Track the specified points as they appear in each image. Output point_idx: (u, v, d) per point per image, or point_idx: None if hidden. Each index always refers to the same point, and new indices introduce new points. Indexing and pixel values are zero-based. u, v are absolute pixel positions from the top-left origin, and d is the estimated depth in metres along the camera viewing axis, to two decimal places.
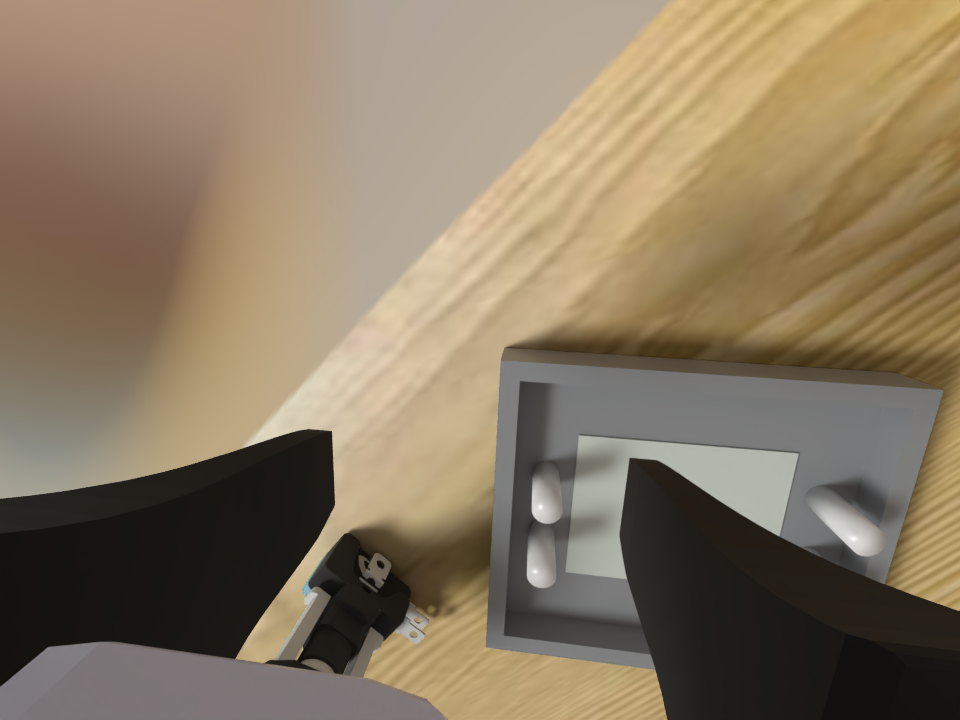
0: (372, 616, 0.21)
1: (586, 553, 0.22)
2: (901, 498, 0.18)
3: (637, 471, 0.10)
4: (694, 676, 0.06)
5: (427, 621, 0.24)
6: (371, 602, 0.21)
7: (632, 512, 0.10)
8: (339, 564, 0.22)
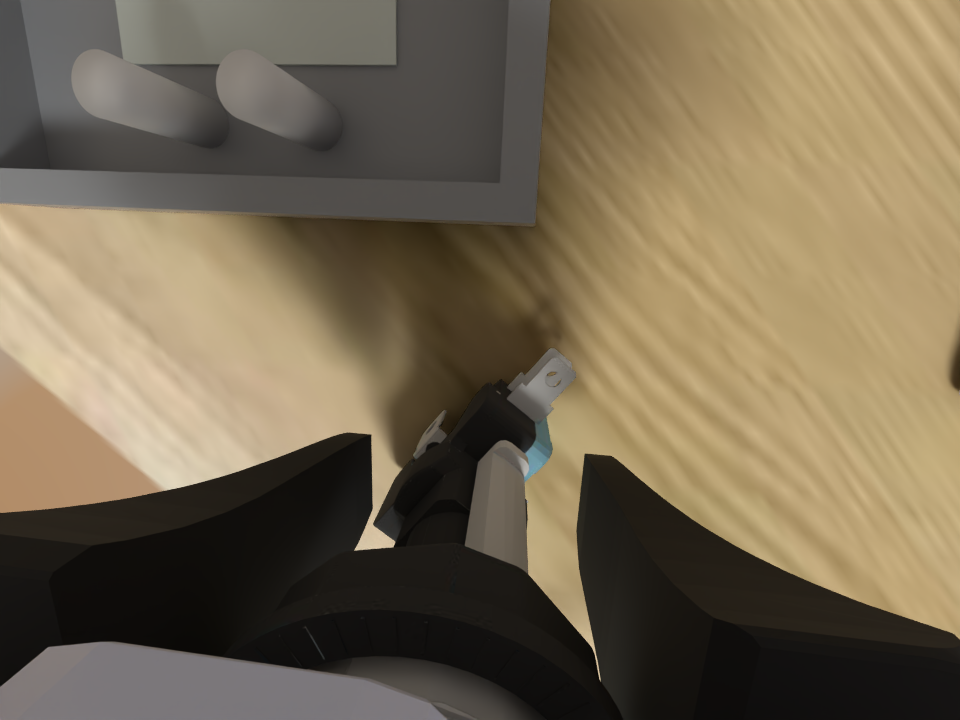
0: (435, 458, 0.10)
1: (349, 21, 0.11)
2: None
3: (589, 467, 0.10)
4: (622, 667, 0.07)
5: (552, 351, 0.12)
6: (425, 455, 0.11)
7: (585, 507, 0.10)
8: (390, 500, 0.12)
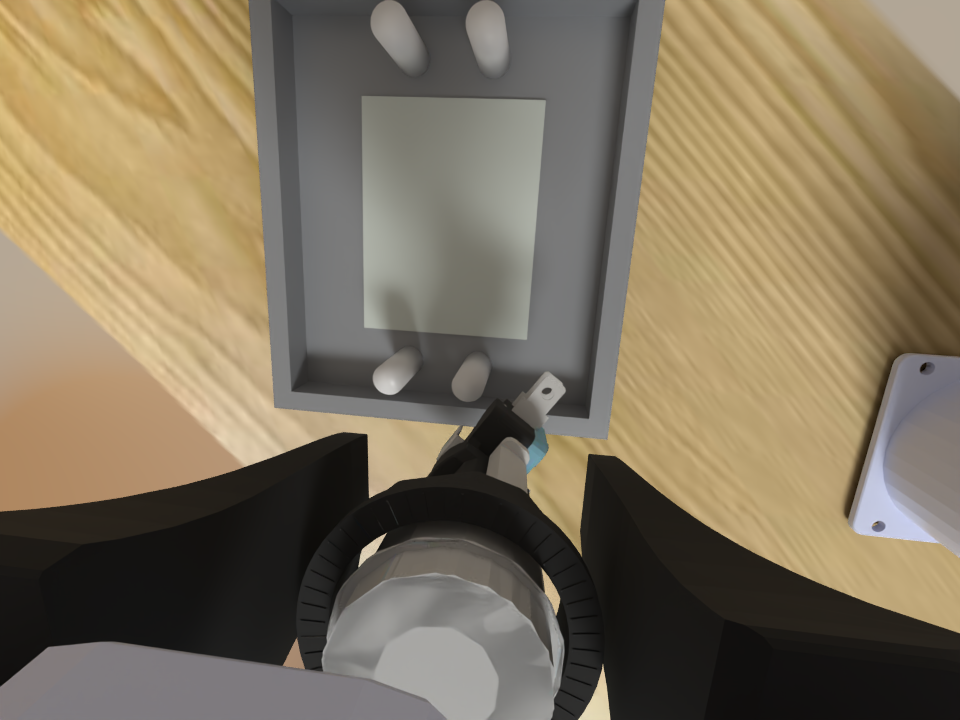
0: (456, 450, 0.13)
1: (501, 316, 0.19)
2: None
3: (593, 467, 0.10)
4: (628, 668, 0.07)
5: (546, 374, 0.16)
6: (448, 451, 0.14)
7: (589, 508, 0.10)
8: None
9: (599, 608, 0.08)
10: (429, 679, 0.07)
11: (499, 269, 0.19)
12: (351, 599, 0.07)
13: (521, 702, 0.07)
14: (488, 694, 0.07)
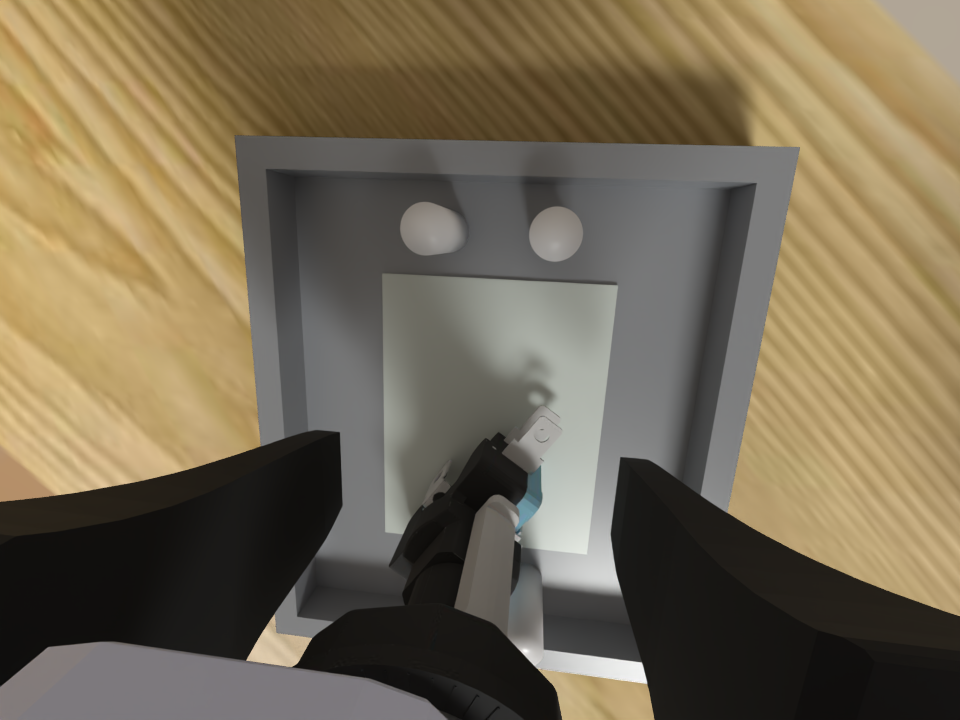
0: (437, 512, 0.12)
1: (555, 527, 0.16)
2: (397, 152, 0.12)
3: (627, 470, 0.10)
4: (680, 675, 0.07)
5: (542, 408, 0.14)
6: (430, 507, 0.13)
7: (622, 511, 0.10)
8: (402, 544, 0.14)
9: None
10: None
11: (554, 473, 0.15)
12: None
13: None
14: None
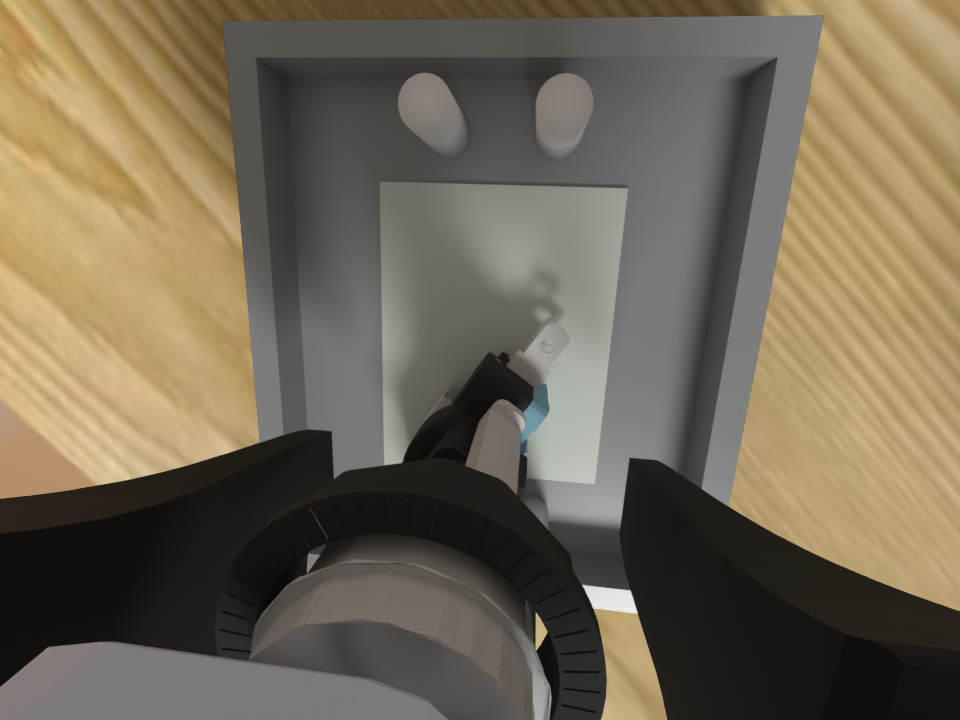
0: (438, 417, 0.11)
1: (562, 455, 0.15)
2: (394, 34, 0.11)
3: (637, 471, 0.10)
4: (694, 676, 0.06)
5: (548, 321, 0.13)
6: (431, 417, 0.12)
7: (632, 512, 0.10)
8: None
9: (598, 643, 0.06)
10: None
11: (560, 397, 0.14)
12: (260, 645, 0.05)
13: None
14: None
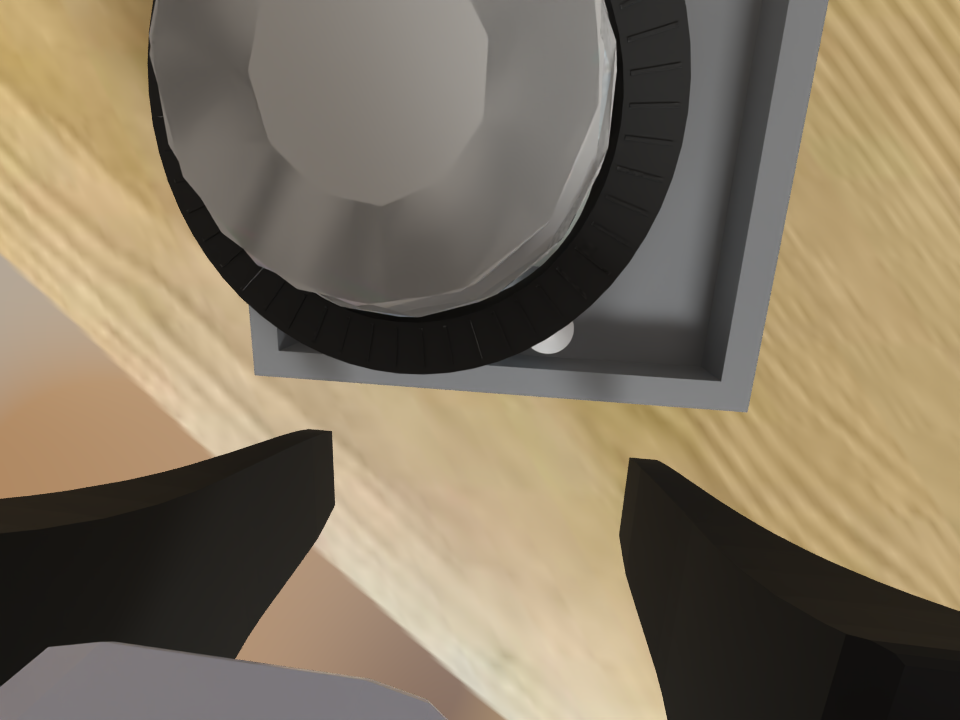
0: None
1: None
2: None
3: (637, 471, 0.10)
4: (695, 677, 0.06)
5: None
6: None
7: (632, 512, 0.10)
8: None
9: None
10: (352, 65, 0.04)
11: None
12: None
13: (535, 93, 0.03)
14: (469, 84, 0.03)
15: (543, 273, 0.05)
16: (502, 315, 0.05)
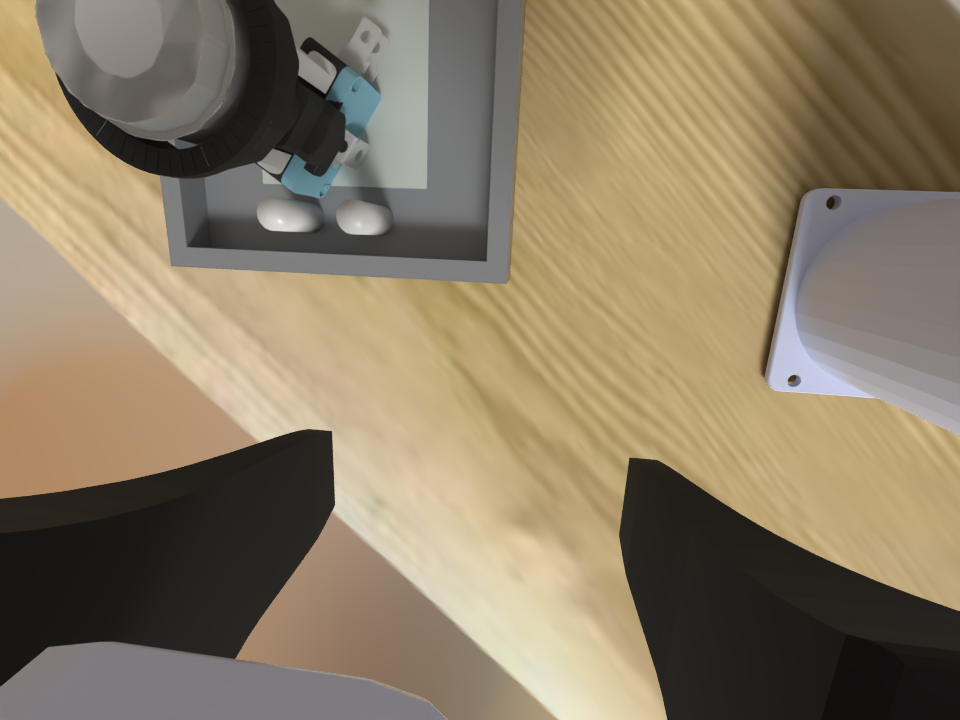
0: None
1: (399, 164, 0.19)
2: None
3: (637, 471, 0.10)
4: (695, 677, 0.06)
5: None
6: None
7: (632, 512, 0.10)
8: None
9: None
10: (112, 19, 0.09)
11: (395, 112, 0.18)
12: None
13: (181, 30, 0.09)
14: (156, 26, 0.09)
15: (229, 121, 0.10)
16: (215, 143, 0.10)
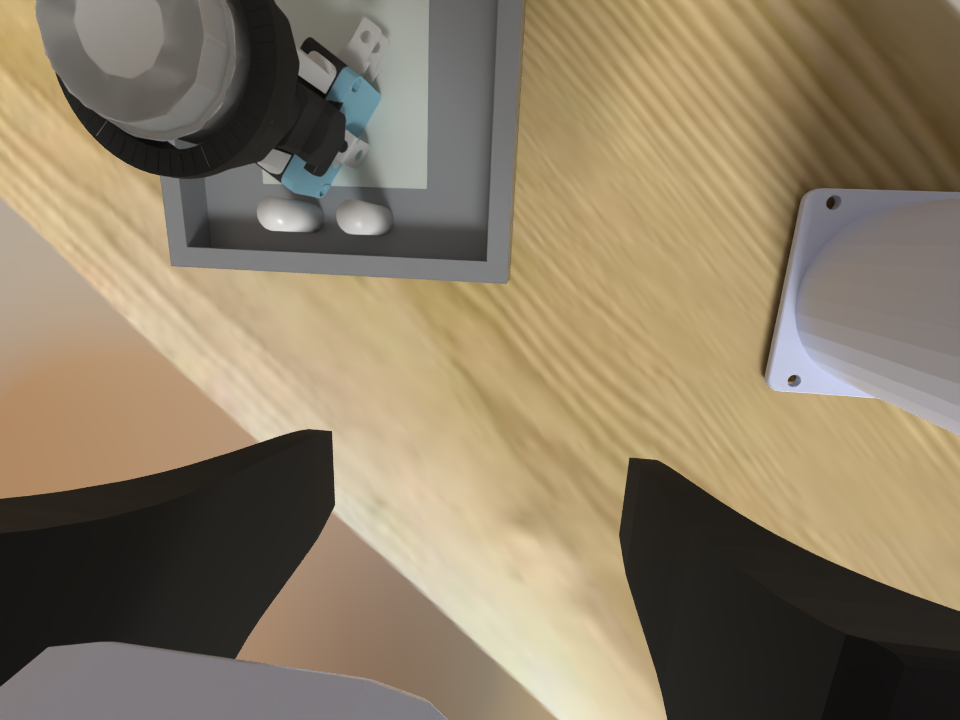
0: None
1: (399, 164, 0.19)
2: None
3: (637, 471, 0.10)
4: (695, 677, 0.06)
5: None
6: None
7: (632, 512, 0.10)
8: None
9: None
10: (113, 20, 0.09)
11: (395, 112, 0.18)
12: None
13: (181, 30, 0.09)
14: (157, 27, 0.09)
15: (229, 121, 0.10)
16: (215, 144, 0.10)
